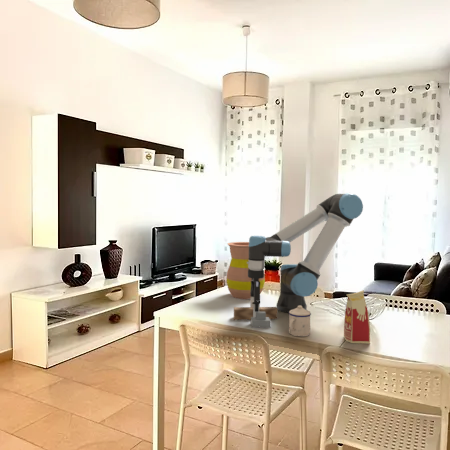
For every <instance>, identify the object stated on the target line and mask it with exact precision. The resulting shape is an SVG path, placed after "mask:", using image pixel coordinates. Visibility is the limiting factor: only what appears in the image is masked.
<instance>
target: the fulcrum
mask: <svg viewBox="0 0 450 450" xmlns="http://www.w3.org/2000/svg"><path fill="white" fill-rule="evenodd" d="M250 326H251V329H255V328H258V329H260V328H263V329H266V328H267V329H270V328H271V326H272V325H271V319H269V317H266V313H265V311H256V317H251V319H250Z"/></svg>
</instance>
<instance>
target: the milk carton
mask: <svg viewBox="0 0 450 450" xmlns="http://www.w3.org/2000/svg"><path fill="white" fill-rule="evenodd" d="M364 293H365V291H364V290H363V289H362V290H361V291H357V292H354V293H348V294H346V296H347V300H346V306H345V312H344V313H345V314H344V324H343V337H344V340H345V341H346V342H349V343H350V344H371V325H370V316H369V311H368V306H367V302H366V299H365V294H364Z"/></svg>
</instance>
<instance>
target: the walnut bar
mask: <svg viewBox="0 0 450 450" xmlns="http://www.w3.org/2000/svg"><path fill="white" fill-rule="evenodd" d="M259 311H265V313H266V317H269V319H270V320H278V311H279V310H278V309H277V306H260V307H259ZM251 317H253V307H250V306H249V307H248V306H244V307H243V306H238V307H236V306H234V307H233V320H237V321H239V320H244V321H245V320H251Z"/></svg>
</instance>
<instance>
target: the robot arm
mask: <svg viewBox="0 0 450 450" xmlns="http://www.w3.org/2000/svg"><path fill="white" fill-rule="evenodd" d="M363 210H364V205H363V201H362V199H361V198H360V197H359V196H358V195H356V194H355V193H351V192H346V193H335V194H333V195H331V196H329V197H328V198H326V199H325V200H323V201H322V202H320V203H319V204H318V205H316V208H314V209H313V210H311V211H310V212H308V213H306V214H305V215H303V216H302V217H300V218H298V219H297V220H295V221H294V222H291V223H290V224H289V225H287V226H285V227H284V228H282V229H281V230H278V231H277V232H276V233H275V234H272V235H271V236H267V237H265V236H263V235H251V236H250V237H249V238H248V239H249V240H248V242H249V260H248V261H249V262H247V264H248V268H249V269H248V277H249V278H251V279H252V281H251V292H250V294H251V296H252V297H251V299H250V304H249V305H250V306H249V307H253V317H256V311H259V307H261V306H260V305H261V294H260V281H259V279H260V278H263V277H264V275H265V261H266V260H265V257H277V258H279V257H280V258H285V257H290V255H291V252H292V251H291V249H292V247H291V242H293V241H294V240H296V239H298V238H299V237H301V236H303V235H304V234H306V233H307V232H309V231H311V230H312V229H314V228H315V227H317V226H318V225H320V224H322V223H324V222H325V224H324V225H323V227H322V229H321V230H320V231H319V234H318V236H317V238H316V239H315V241H314V242H313V244H312V246H310V249H309V251H308V252H307V254H306V255H305V257H304V260H302V261H299V262H298V263H290V264H288V263H287V264H281V266H280V270H279V272H280V282H279V283H280V285H279V287H280V289H279V291H280V293H279V295H278V296H279V297H278V299H277V301H276V308H277V309H278V311H279V312H282V313H283V312H284V313H288V314H289V311H290V310H293V309H295V308H298V306H299V305H300V306H302V308H304V309H305V310H308V309H307V308H308V305H307V302H306V299H305V297H306V298H307V297H310V296H311V295H313V294H314V293H315V292H316V291H317V289H318V280H319V278H320V276H321V273H320V270H321V268H322V267H323V265H324V263H325V261H326V260H327V259H328V257H329V256H330V253H331V251H332V250H333V248H334V246H335V245H336V242H337V241H338V239H339V237H340V236H341V234H342V233H343V231H344V229H345V228H347V227H349V226H351V224H352V222H353V221H354V219H357V218H358V217H360V216H361V214H362V212H363Z"/></svg>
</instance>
